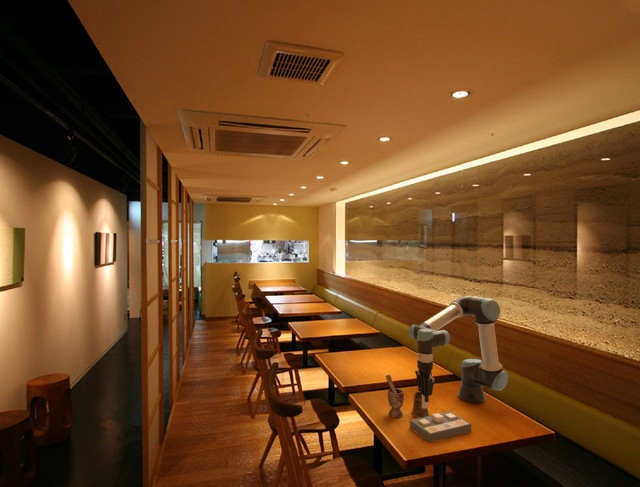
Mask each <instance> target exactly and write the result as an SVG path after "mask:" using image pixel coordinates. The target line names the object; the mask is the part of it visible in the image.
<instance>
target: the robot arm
mask: <svg viewBox="0 0 640 487" xmlns="http://www.w3.org/2000/svg"><path fill="white" fill-rule="evenodd" d="M500 314H501V307H500V305H499V302H497V301H496V300H495V299H493V298H489V297H481V296H474V295H464V296H462V297H459V298H457V299H455V300H453V301H451V302H450V303H449V305H448V306H447V307H445V308H444V309H442V310H440V311H439V312H438V313H436V314H435V315H433V316H431V317H430V318H429V319H426V320H425V321H423V322H422V323H420V324H419V325H418V324H412V325H411V326H409V328H408V336H409V337H410V338H411V339H415V340H416V341H417V342H416V345H417V349H416V350H417V356H416V357H417V358H416V359H417V362H416V363H417V364H416V365H417V366H416V367H417V369H418V370H415V371H414V373H415V376H416V382H417V389H418V392H421V399H422V408H428V409H429V401H430V400H429V396H432V395H433V390H434V385H435V382H436V378H435V377H433V375H432V374H433V373H432V371H433V369H434V348H437V347H441V346H443V347H444V346H446V345H448V344H450V342H451V336H450V333H449V332H448V331H447V330H445V329H441V328H443V327H445V326H446V325H448V324H449V323H451V322H452V321H454V320H456V319H457V318H462V317H464V316H469V317H473V319H474V323H475V324H476V325H477V328H478V335H479V344H480V351H481V353H480V354H481V359H482V360H481V359H478V358H466V359H463V360H462V362H461V384H460V386H459V390H458V392H457V394H458V398H459V399H461V400H462V401H465V402H469V403H475V404H480V403H483V402H485V401H486V395H485V393H484V389H483V387H487V388H490V389H492V390H493V391H494V390H495V391H498V392H499V391H503V390H504V389H505V388H506V386H507V384H508V382H509V374H508V372H507V371H506V370H503V364H501V363H500V361H499V354H498V353H499V352H498V345H497V337H496V328H495V324H496V323H497V320H499V318H500V317H501V316H500Z"/></svg>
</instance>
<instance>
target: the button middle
mask: <svg viewBox="0 0 640 487" xmlns="http://www.w3.org/2000/svg"><path fill="white" fill-rule="evenodd" d="M431 415H432V420H433V421H435V422H436V423H441V422H444V416H442V415H441V414H440V413H439V412H437V413H433V414H431Z"/></svg>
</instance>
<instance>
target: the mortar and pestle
mask: <svg viewBox="0 0 640 487" xmlns="http://www.w3.org/2000/svg"><path fill="white" fill-rule="evenodd" d="M385 379H386V382H387V384H388V386H389V387H390V388H388V390H387V400H388V404H389V406H390V407H391V409H390V410H389V412H388V415H389V416H390V417H391V418H397V419H398V418H401V417H402V416H403V411H402V410H401V408H402V406H403V405H404V400H405V392H404V390H403V389H401V388H397V387H395V386H394V382H393V379H392V377H391V375H390V374H387V375H386V376H385Z"/></svg>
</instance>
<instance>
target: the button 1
mask: <svg viewBox="0 0 640 487" xmlns="http://www.w3.org/2000/svg"><path fill="white" fill-rule="evenodd" d="M418 423H419V424H421V425H422V426H427V425H430V422H429V421H427V420H426V419H422V420H418Z"/></svg>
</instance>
